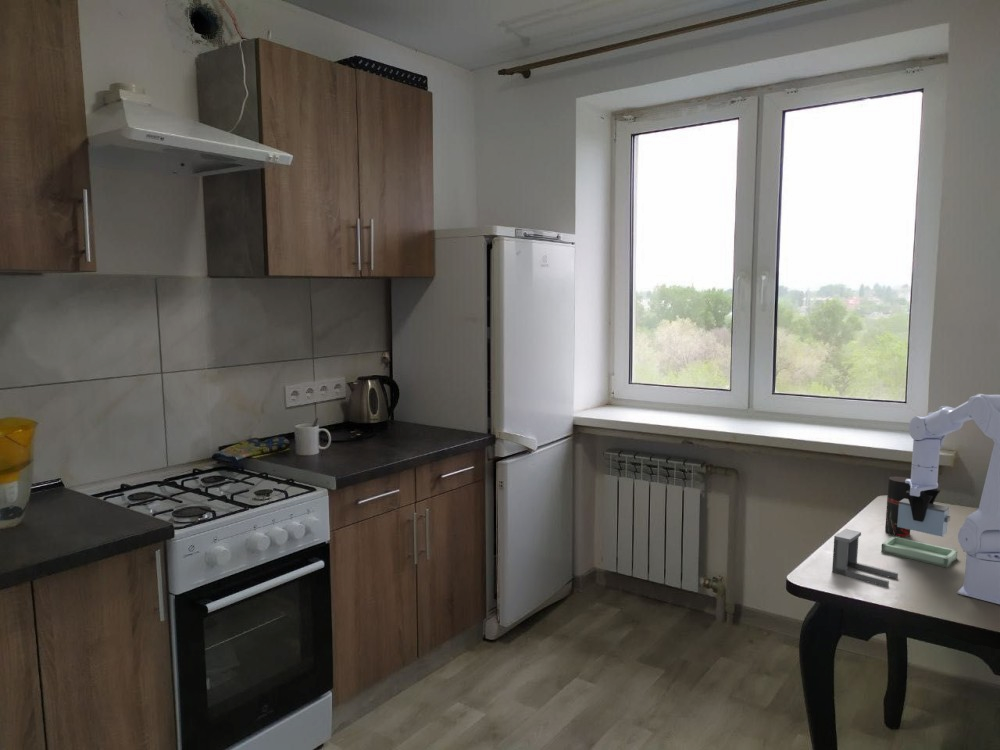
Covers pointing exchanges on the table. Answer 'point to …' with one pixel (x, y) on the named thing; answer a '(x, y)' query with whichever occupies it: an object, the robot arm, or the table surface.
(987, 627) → the table surface
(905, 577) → the table surface
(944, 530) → the pale blue block
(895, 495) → the deodorant
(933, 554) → the tray
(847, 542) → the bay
